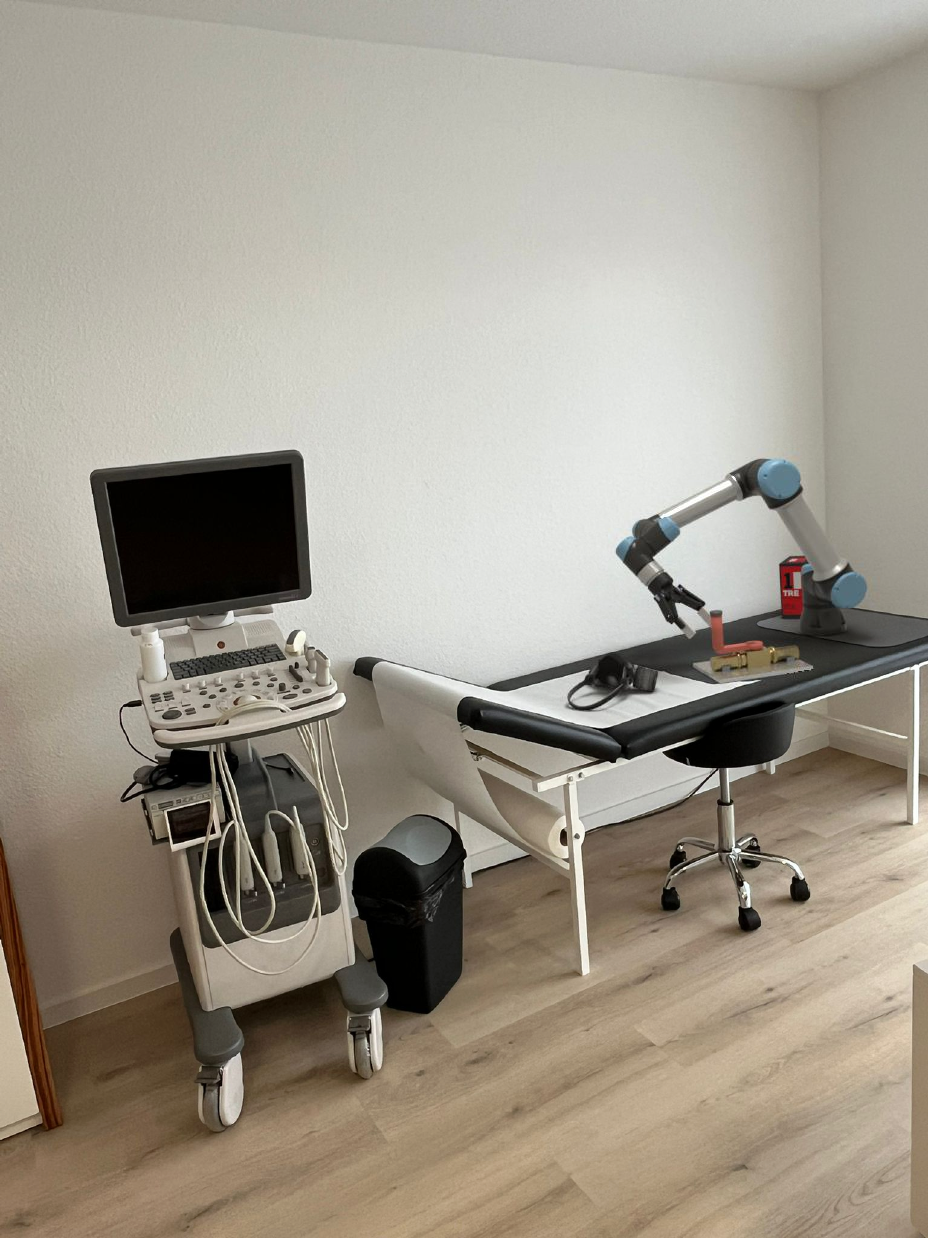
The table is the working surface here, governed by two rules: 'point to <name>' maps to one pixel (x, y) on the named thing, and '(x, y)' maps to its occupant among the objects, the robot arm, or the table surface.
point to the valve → (753, 664)
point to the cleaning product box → (791, 586)
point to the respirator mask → (615, 678)
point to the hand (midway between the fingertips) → (704, 630)
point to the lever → (718, 637)
